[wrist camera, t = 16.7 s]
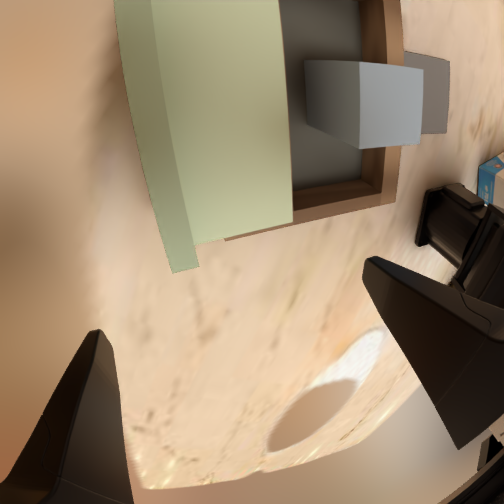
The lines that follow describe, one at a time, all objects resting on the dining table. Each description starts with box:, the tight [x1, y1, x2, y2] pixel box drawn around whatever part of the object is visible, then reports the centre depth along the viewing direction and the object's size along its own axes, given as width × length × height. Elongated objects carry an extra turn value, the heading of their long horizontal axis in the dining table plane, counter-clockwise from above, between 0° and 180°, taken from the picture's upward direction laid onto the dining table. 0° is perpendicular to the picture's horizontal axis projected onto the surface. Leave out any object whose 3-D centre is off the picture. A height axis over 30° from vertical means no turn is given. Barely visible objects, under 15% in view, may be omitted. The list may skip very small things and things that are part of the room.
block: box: [304, 60, 423, 149], centre depth 15 cm, size 4×4×6 cm
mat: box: [404, 51, 450, 134], centre depth 19 cm, size 7×7×1 cm
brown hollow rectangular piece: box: [224, 0, 404, 241], centre depth 16 cm, size 16×13×3 cm
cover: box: [114, 0, 293, 274], centre depth 13 cm, size 14×7×3 cm, turn 4°
